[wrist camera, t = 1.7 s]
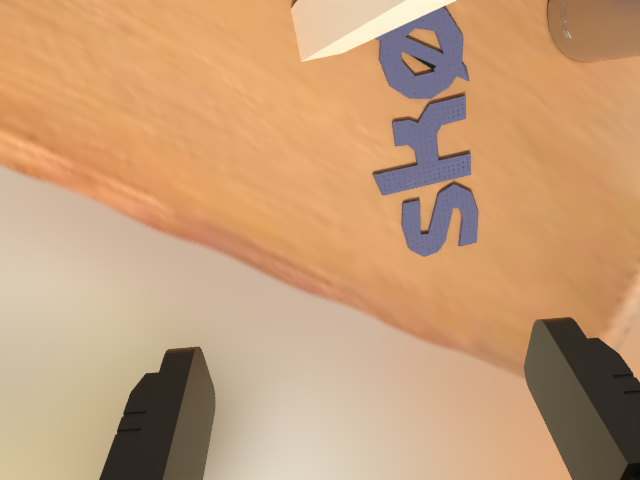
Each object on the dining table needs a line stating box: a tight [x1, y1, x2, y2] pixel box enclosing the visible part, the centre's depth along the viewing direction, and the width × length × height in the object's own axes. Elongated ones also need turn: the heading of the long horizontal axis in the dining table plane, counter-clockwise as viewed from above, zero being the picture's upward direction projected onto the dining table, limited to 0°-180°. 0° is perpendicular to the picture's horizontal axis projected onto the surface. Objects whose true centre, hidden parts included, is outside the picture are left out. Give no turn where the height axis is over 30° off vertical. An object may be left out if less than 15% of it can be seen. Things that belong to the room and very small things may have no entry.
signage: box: [373, 7, 478, 256], centre depth 42 cm, size 28×1×10 cm
